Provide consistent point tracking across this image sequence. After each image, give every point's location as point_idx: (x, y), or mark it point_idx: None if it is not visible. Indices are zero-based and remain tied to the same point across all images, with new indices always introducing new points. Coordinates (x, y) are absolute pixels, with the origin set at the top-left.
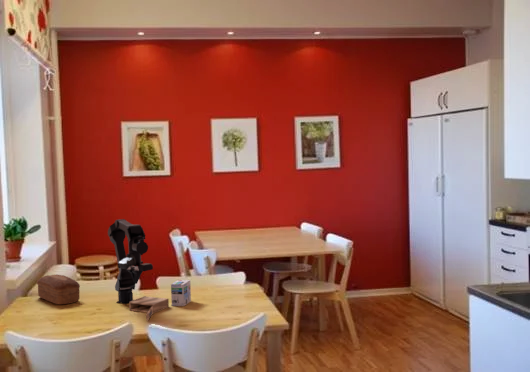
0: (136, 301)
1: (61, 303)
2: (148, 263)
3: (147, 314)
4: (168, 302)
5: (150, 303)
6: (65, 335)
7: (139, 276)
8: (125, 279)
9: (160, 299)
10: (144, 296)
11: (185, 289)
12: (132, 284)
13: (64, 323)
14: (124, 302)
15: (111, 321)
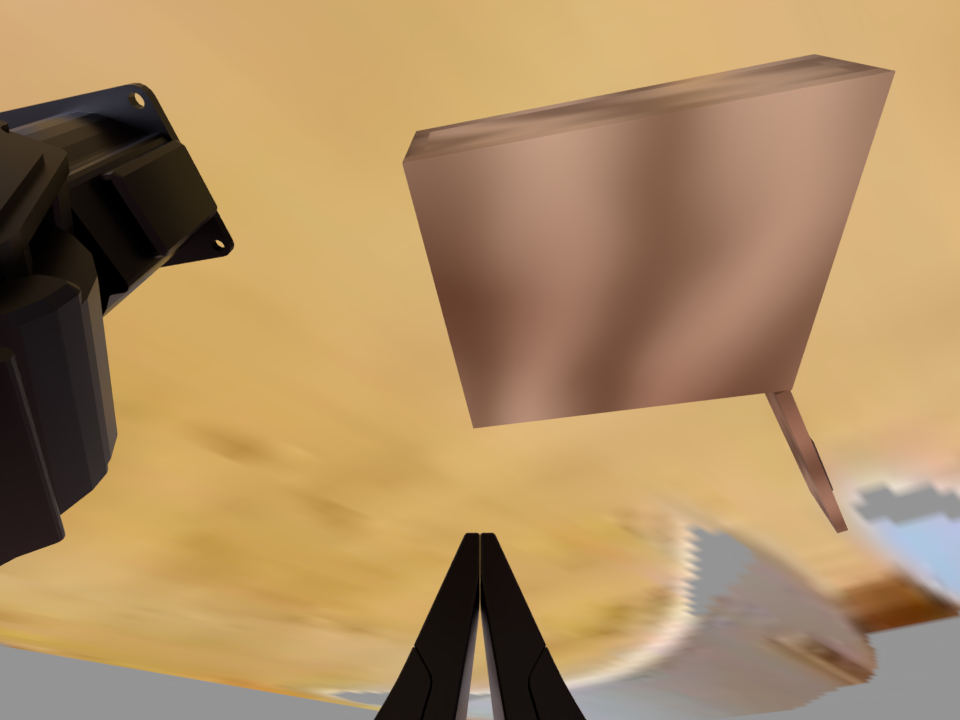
0: (529, 391)
1: None
2: None
3: (844, 526)
4: (852, 62)
5: (734, 378)
6: None
7: (548, 660)
8: (49, 499)
9: (771, 186)
10: (410, 175)
11: None
12: (99, 303)
13: (396, 621)
14: (194, 251)
15: (579, 547)
